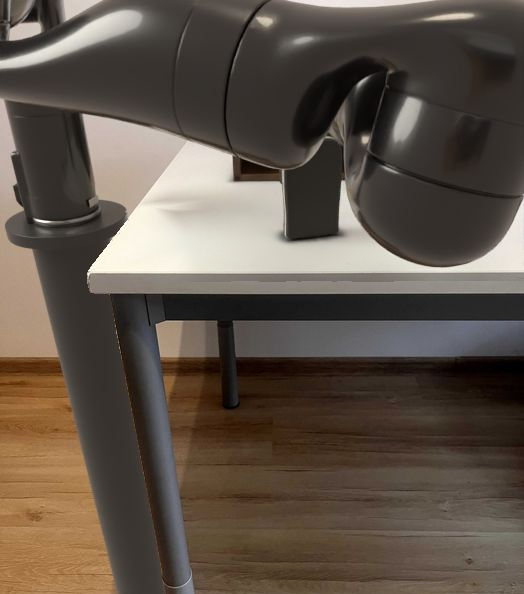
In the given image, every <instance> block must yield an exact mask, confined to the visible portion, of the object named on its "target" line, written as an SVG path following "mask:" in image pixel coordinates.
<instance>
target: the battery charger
mask: <svg viewBox="0 0 524 594" xmlns="http://www.w3.org/2000/svg"><path fill="white" fill-rule="evenodd" d="M279 175H280V180H279V183H280V185H281V188H282V189H281V190H282V207H283V225H282V228H283V235H284V237H285V238H287V239H288V240H289V239H290V240H291V239H305V238H307V239H308V238H313V237H323V236H329V235H334V234H338V233H339V232H340V202H341V193H342V192H341V191H342V180H343V179H342V149H341V146H340V144H339V143H338V142H337V141H336V140H335V139H334V138H332V137H329V136H327V135H326V137H325V139H324V141H323V142H322V144H321V146H320V147H319V149H318V150H317V152H316V153H315V154H314V156H313V157H312V158H311V159H310V160H309V161H308V162H307V163H305V164H304V165H302V166H300V167H298V168H295V169H290V170H280V169H279Z"/></svg>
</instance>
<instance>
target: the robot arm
mask: <svg viewBox="0 0 524 594" xmlns="http://www.w3.org/2000/svg"><path fill="white" fill-rule="evenodd" d="M65 9H66V8H65V1H64V0H0V99H1V100H3V102H4V107H5V110H6V115H7V119H8V123H9V127H10V131H11V136H12V141H13V145H14V148H15V149H14V151H11V153H10V160H11V164H12V167H13V171H14V176H15V180H16V183H14V185H12V189H13V192H14V197H15V201H16V203H18V205H19V206H20V207H22V208H23V210H24V213H25V217H26V221H27V224H35V225H37V226H40V227H47V228H62V227H71V226H76V225H81V224H85V223H88V222H90V221H93V220H95V219H96V218H98V217H99V216H100V215H101V209H100V205H99V200H100V199H99V195H98V191H97V186H96V181H95V174H94V170H93V169H94V168H93V163H92V158H91V151H90V146H89V141H88V136H87V135H88V134H87V129H86V123H85V119H84V115H87V116H94V117H99V118H106V119H110V120H114V121H120V122H123V123H128V124H131V125H136V126H141V127H143V128H146V129H150V130H154V131H158V132H161V133H164V134H167V135H170V136H173V137H177V138H178V139H182V140H185V141H188V142H192V143H194V144H197V145H200V146H203V147H206V148H209V149H212V150H215V151H218V152H221V153H224V154H227V155H230V156H232V155H233V156H236V157H239V158H242V159H245V160H248V161H251V162H253V163H256V164H260V165H263V166H266V167H270V168H275V169H280V170H290V169H295V168H298V167H300V166H302V165H304V164H305V163H307V162H308V161H309V160H310V159H311V158H312V157H313V156H314V154H315V153H316V152H317V150H318V149H319V147H320V146H321V144H322V142H323V141H324V139H325V137H326V135H327V134H328V132H329V134H330V135H331V136H332V137H333V138H334V139H335V140H336V141H337V142H338V143H340V144H341V145H342V146H344V148H343V158H344V172H345V179H344V183H345V191H346V196H347V199H348V203H349V205H350V208H351V211H352V213H353V215H354V217H355V219H356V220H357V222H358V224H359V225H360V226H361V227H362V229H363V230H364V231H365V232H366V234H367V235H368V236H369V237H370V238H371V239H372V240H373V241H375V243H377V244H378V245H379V246H380V247H382V248H383V249H385V250H386V251H387V252H389V253H391V254H392V255H394V256H395V257H398V258H400V259H402V260H404V261H407V262H409V263H412V264H414V265H418V266H422V267H427V268H444V269H445V268H453V267H458V266H459V267H460V266H463V265H467V264H471V263H473V262H474V261H477V260H479V259H481V258H483V257H484V256H486V255H487V254H489V253H490V252H491V251H493V250H494V249H495V248H496V247H497V246H498V245H499V244H500V243H501V242H502V241H503V239H504V238H505V237H506V235H507V233H508V232H509V231H510V228H511V227H512V224H513V223H514V221H515V218H516V216H517V214H518V211H519V209H520V208H521V205H522V203H523V201H524V0H427V1H419V2H412V3H404V4H403V3H402V4H393V5H381V6H380V5H379V6H350V7H342V6H324V5H315V4H311V3H303V2H296V1H292V0H100V1H99V2H96V3H95V4H93V5H92V6H90V7H88V8H86V9H85V10H82V11H81V12H79V13H78V14H76V15H74V16H71V17H70V18H69V19H67V15H66V10H65ZM20 24H21V25H22V24H23V25H24V24H39V26H40V32H39V33H37V34H34V35H32V36H29V37H24V38H20V39H14V40H11V39H10V36H11V35H10V33H11V30H12V29H13V28H15V27H18V25H20Z"/></svg>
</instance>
